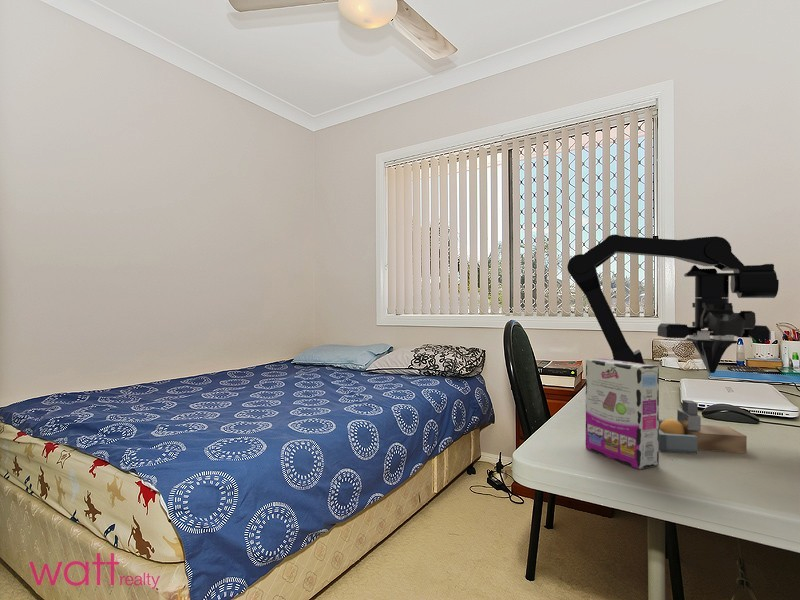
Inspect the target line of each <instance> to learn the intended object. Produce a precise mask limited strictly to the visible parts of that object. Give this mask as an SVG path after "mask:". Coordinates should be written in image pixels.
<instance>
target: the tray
mask: <svg viewBox="0 0 800 600" xmlns="http://www.w3.org/2000/svg"><path fill="white" fill-rule="evenodd" d="M664 420H665V419H662V418H661V419H659V452H664V453H665V452H666V453H677V454H693V455H697V454H698V450H697V436H695V435H683V434H667V433H663V432H662V431H661V430H660V424H661V423H662V422H663V421H664Z"/></svg>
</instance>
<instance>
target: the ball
mask: <svg viewBox="0 0 800 600" xmlns="http://www.w3.org/2000/svg"><path fill="white" fill-rule="evenodd" d="M663 420H664V421H663V422H662V423H661V424H660V430H661V431H662V432H663V433H667V434H683V435H684V427H683V426H682V424H681V423H680V422H678V421H677V419H674V418H666V419H663Z"/></svg>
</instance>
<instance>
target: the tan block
mask: <svg viewBox="0 0 800 600" xmlns="http://www.w3.org/2000/svg"><path fill="white" fill-rule="evenodd" d="M684 435H695V436H697V451H698V450H699V451H709V452H710V451H711V452H712V451H714V452H722V453H723V452H725V453H726V452H727V453H740V454H741V453H742V454H747V452H748V451H747V448H748V447H747V442H748V441H747V437H748V436H747V435H746V434H743V433H741V432H740V431H738V430H736V429H734V428H732V427H730V426H726V425H725V426H723V425H711V424H710V425H708V424H701V431H696V430H687V429H686V428H684Z"/></svg>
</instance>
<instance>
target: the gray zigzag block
mask: <svg viewBox="0 0 800 600" xmlns="http://www.w3.org/2000/svg"><path fill="white" fill-rule="evenodd" d="M681 404H682V405H681V406H682V407H681V408H682V409H676V410H677V411H676V412H677V413H676V414H677V418H676V420H677V421H678V422H680V423H681V424H682V426H683V427H684V428H686V429H687V430H696V431H701V425H702V422H701V419H702V418H701V416H700V415H699V414H698V409H699V408H698V403H697V402H695V401H694V400H689V399H688V400H686V399H682V402H681Z"/></svg>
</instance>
